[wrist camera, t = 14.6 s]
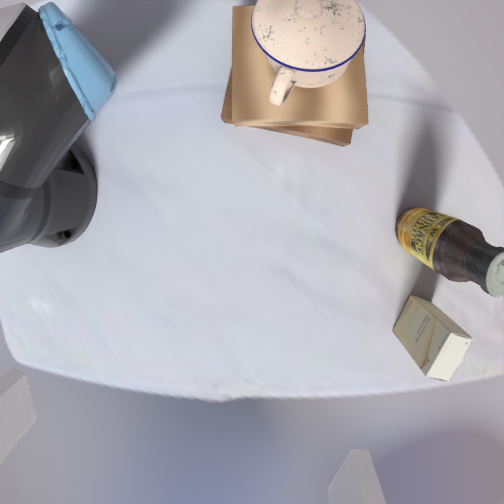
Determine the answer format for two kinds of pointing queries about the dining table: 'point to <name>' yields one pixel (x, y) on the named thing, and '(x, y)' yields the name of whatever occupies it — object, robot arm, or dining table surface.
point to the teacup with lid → (307, 41)
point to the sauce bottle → (452, 248)
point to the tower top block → (300, 99)
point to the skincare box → (432, 338)
